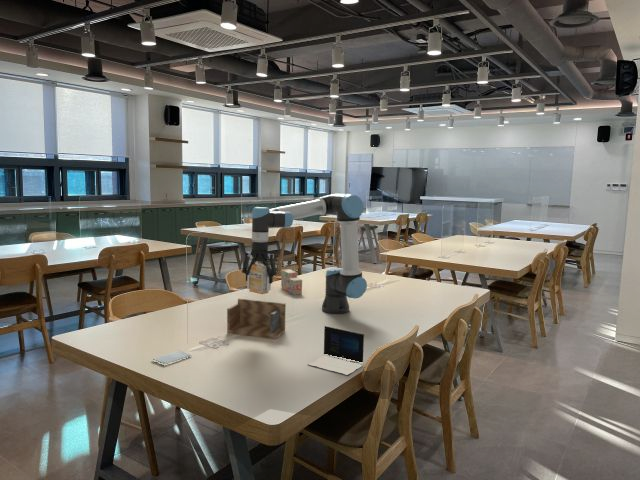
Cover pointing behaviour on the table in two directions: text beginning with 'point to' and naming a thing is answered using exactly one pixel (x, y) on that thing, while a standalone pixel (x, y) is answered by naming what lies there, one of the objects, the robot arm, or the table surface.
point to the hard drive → (172, 357)
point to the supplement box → (258, 279)
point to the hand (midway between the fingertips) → (258, 289)
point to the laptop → (343, 343)
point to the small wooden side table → (256, 318)
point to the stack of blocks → (291, 281)
